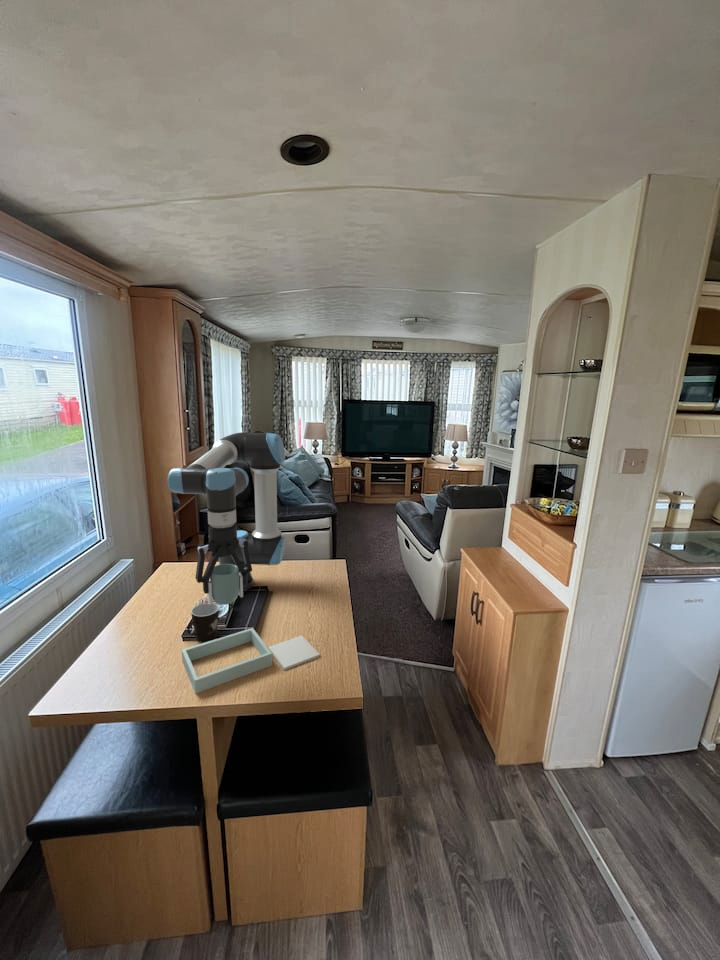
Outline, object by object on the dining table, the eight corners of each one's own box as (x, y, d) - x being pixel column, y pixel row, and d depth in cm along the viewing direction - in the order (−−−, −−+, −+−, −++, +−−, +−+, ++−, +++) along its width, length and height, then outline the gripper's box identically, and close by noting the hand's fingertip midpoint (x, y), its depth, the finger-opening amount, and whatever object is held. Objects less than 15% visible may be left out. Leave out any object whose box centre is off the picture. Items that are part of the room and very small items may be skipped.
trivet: (268, 649, 130) (268, 647, 129) (302, 637, 136) (302, 635, 136) (284, 670, 120) (284, 667, 120) (319, 656, 127) (319, 654, 127)
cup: (230, 609, 114) (229, 576, 111) (205, 605, 115) (204, 573, 113) (244, 596, 121) (243, 565, 119) (221, 593, 123) (219, 562, 121)
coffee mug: (213, 626, 141) (212, 600, 139) (224, 637, 135) (223, 609, 133) (179, 639, 133) (177, 611, 131) (189, 651, 127) (188, 622, 125)
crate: (182, 661, 122) (181, 649, 122) (253, 638, 135) (252, 627, 134) (195, 693, 110) (194, 680, 109) (272, 665, 122) (272, 653, 121)
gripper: (185, 533, 105) (189, 614, 109) (263, 522, 116) (264, 595, 120) (179, 525, 111) (184, 601, 115) (254, 515, 122) (256, 585, 127)
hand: (225, 598), depth 118 cm, fingers closed on cup, 8 cm apart
